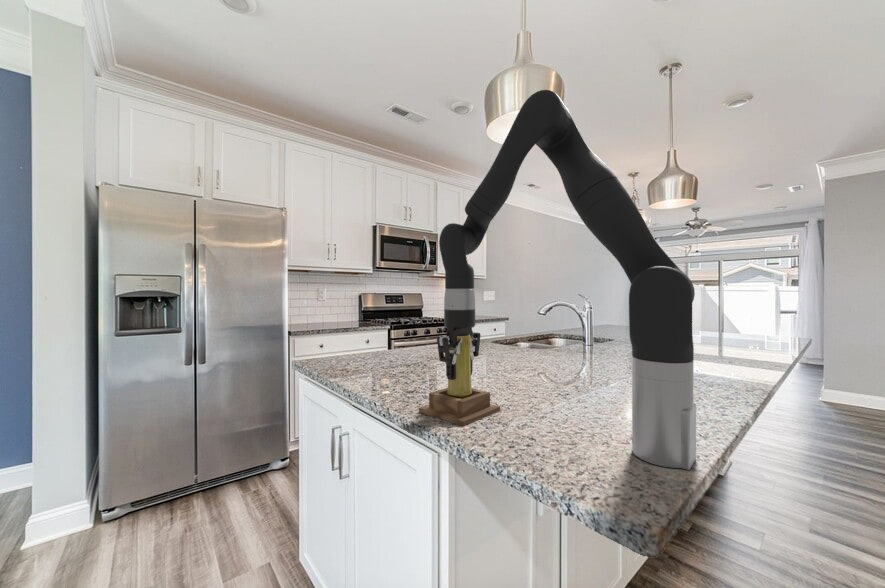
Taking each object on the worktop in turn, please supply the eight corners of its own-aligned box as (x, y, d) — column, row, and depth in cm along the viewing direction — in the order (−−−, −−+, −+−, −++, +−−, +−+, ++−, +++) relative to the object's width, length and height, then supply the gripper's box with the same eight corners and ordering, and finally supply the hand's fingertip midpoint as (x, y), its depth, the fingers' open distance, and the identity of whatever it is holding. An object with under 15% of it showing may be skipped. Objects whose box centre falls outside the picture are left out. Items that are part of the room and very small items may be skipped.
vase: (472, 390, 92) (472, 333, 92) (471, 397, 86) (471, 336, 86) (448, 389, 93) (447, 333, 93) (445, 396, 87) (445, 336, 86)
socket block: (500, 410, 90) (500, 392, 90) (463, 426, 79) (463, 405, 79) (456, 399, 99) (456, 382, 99) (418, 411, 89) (418, 393, 89)
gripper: (451, 309, 81) (451, 385, 81) (489, 307, 92) (489, 374, 92) (427, 308, 86) (427, 380, 86) (466, 306, 97) (466, 370, 97)
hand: (459, 376), depth 89 cm, fingers closed on vase, 5 cm apart
